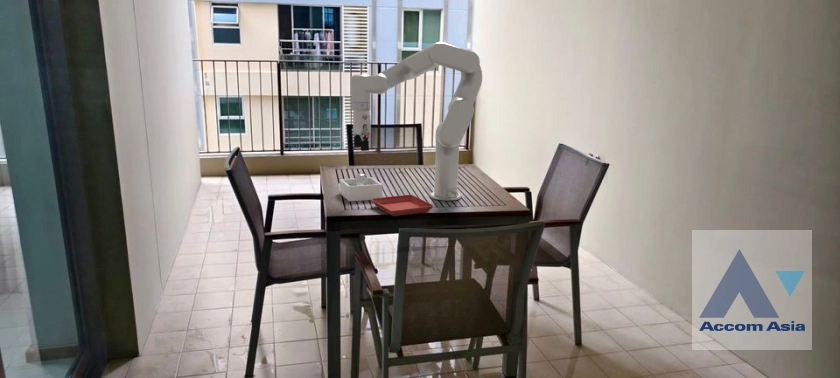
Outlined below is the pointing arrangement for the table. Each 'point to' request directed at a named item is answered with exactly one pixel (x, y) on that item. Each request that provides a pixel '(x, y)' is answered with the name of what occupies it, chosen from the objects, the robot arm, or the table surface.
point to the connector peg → (360, 179)
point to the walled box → (360, 189)
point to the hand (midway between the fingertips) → (361, 148)
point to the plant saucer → (402, 205)
